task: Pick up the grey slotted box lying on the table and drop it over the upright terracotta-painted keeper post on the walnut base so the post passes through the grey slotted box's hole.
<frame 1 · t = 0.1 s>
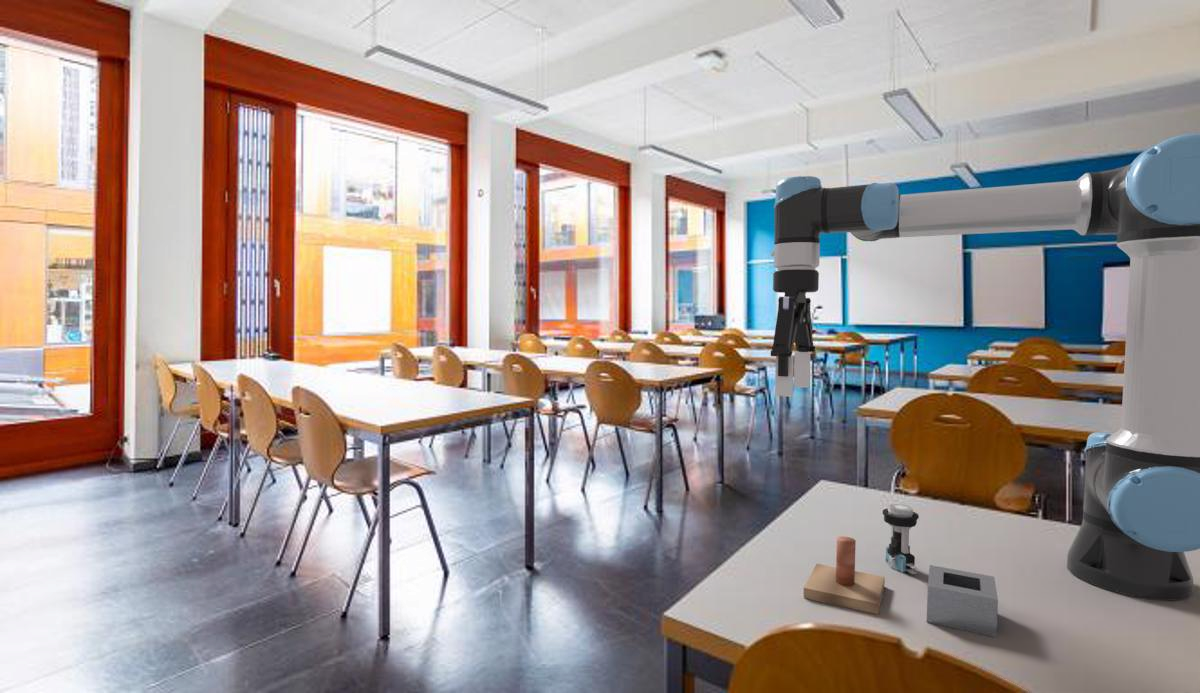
hand: (793, 391, 109), 28 cm above the table, fingers open, 13 cm apart
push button: (901, 569, 102), on the table
grey slotted box: (960, 616, 86), on the table
keeper: (844, 591, 93), on the table
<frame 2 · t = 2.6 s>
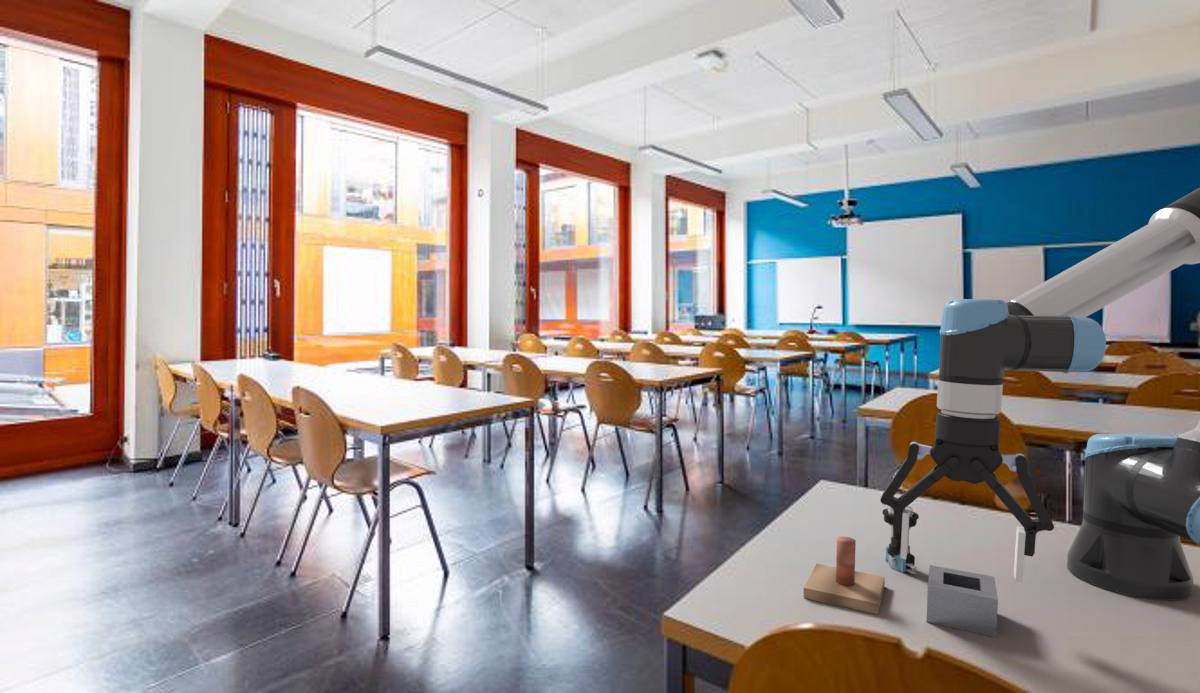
hand: (958, 566, 86), 7 cm above the table, fingers open, 13 cm apart
nothing on the table moved.
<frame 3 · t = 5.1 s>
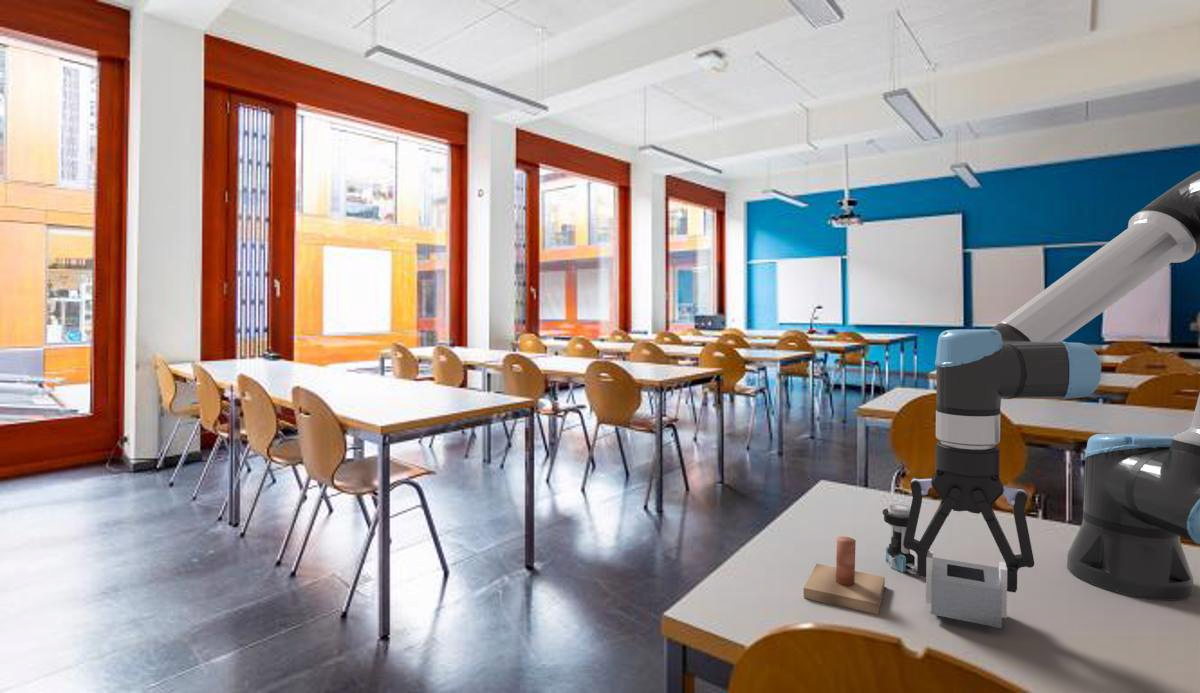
hand: (965, 605, 86), 2 cm above the table, fingers closed on grey slotted box, 8 cm apart
grey slotted box: (964, 608, 86), point 1 cm above the table, touching gripper
everything else where it was.
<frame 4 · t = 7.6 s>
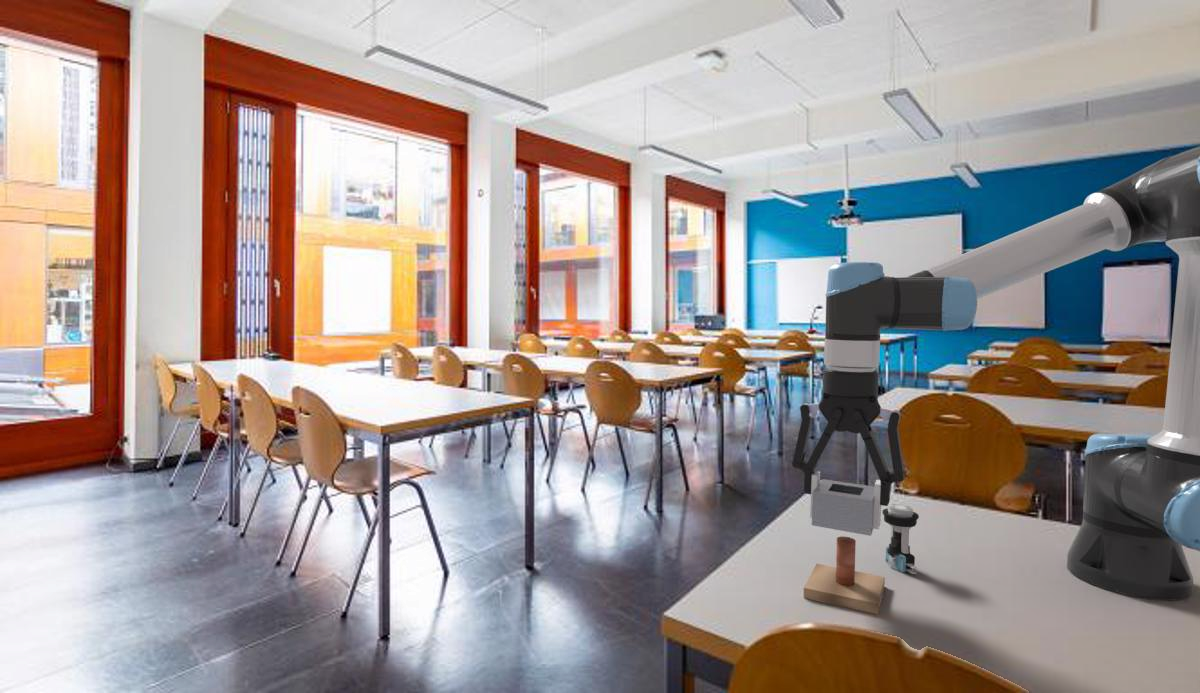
hand: (844, 520, 93), 11 cm above the table, fingers closed on grey slotted box, 8 cm apart
grey slotted box: (844, 522, 93), point 11 cm above the table, touching gripper
everything else where it was.
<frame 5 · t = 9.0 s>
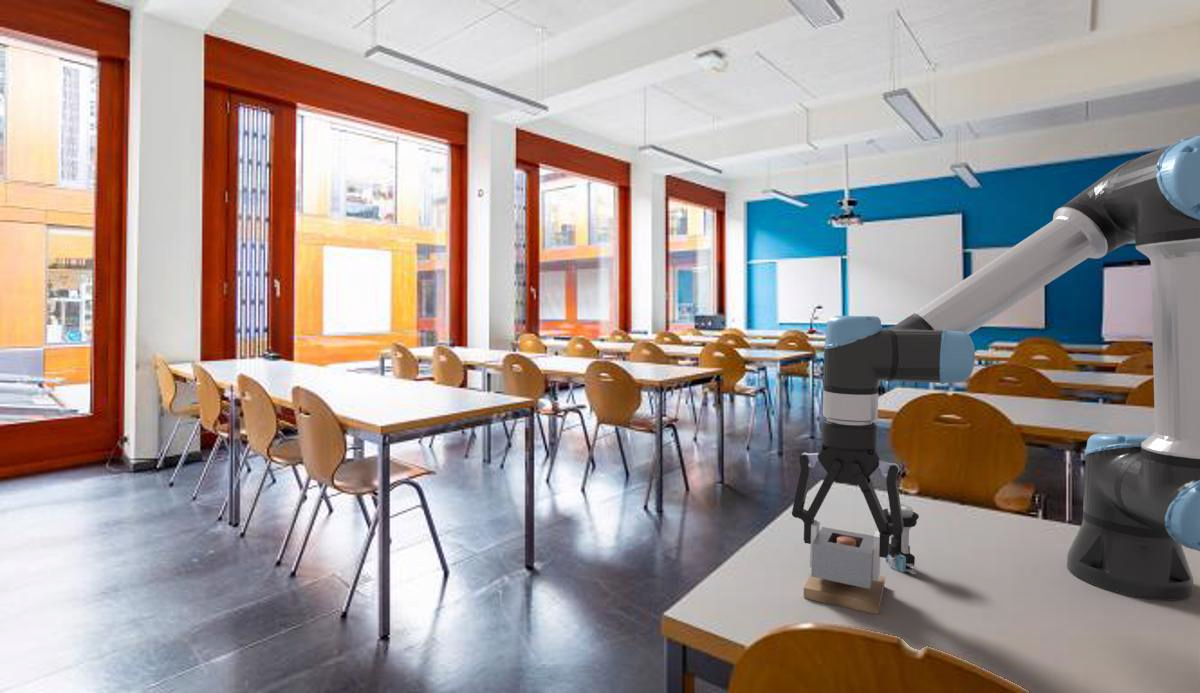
hand: (844, 570, 93), 3 cm above the table, fingers closed on grey slotted box, 8 cm apart
grey slotted box: (844, 572, 93), point 3 cm above the table, touching gripper
everything else where it was.
when the fingers open (2 cm above the table, at t = 10.0 s): grey slotted box stays where it is, resting on keeper.
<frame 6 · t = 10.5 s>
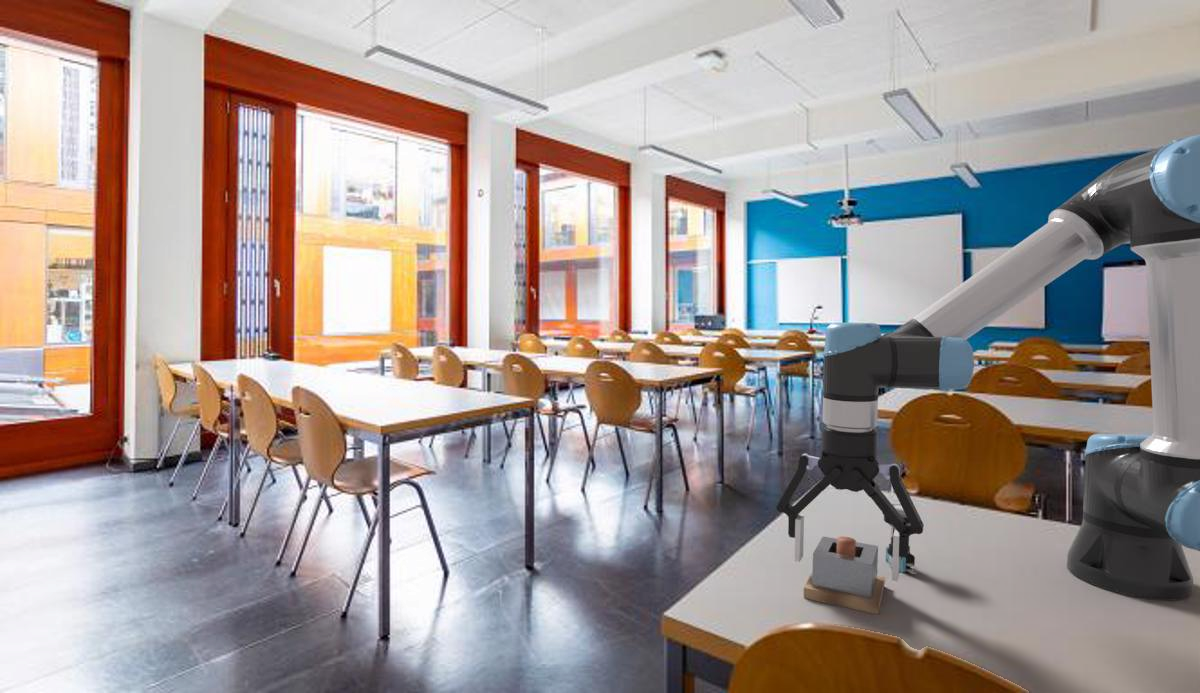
hand: (845, 567, 93), 4 cm above the table, fingers open, 13 cm apart
grey slotted box: (845, 582, 93), point 1 cm above the table, touching keeper
everything else where it was.
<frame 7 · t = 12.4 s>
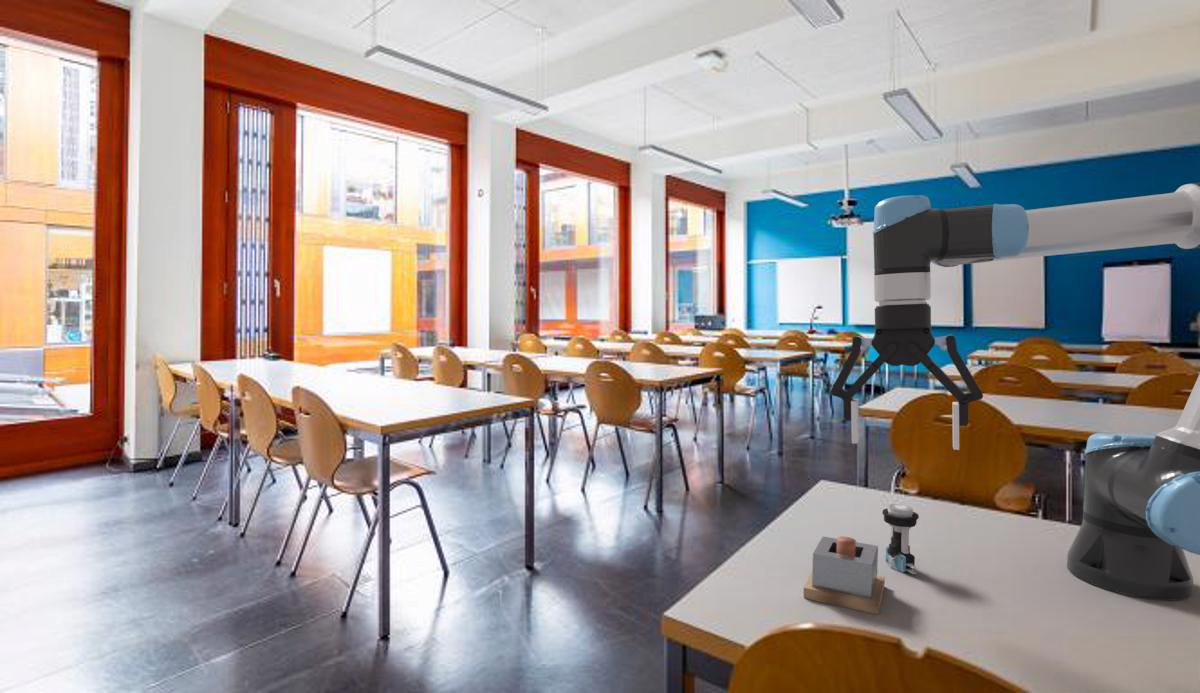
hand: (903, 445, 93), 22 cm above the table, fingers open, 13 cm apart
nothing on the table moved.
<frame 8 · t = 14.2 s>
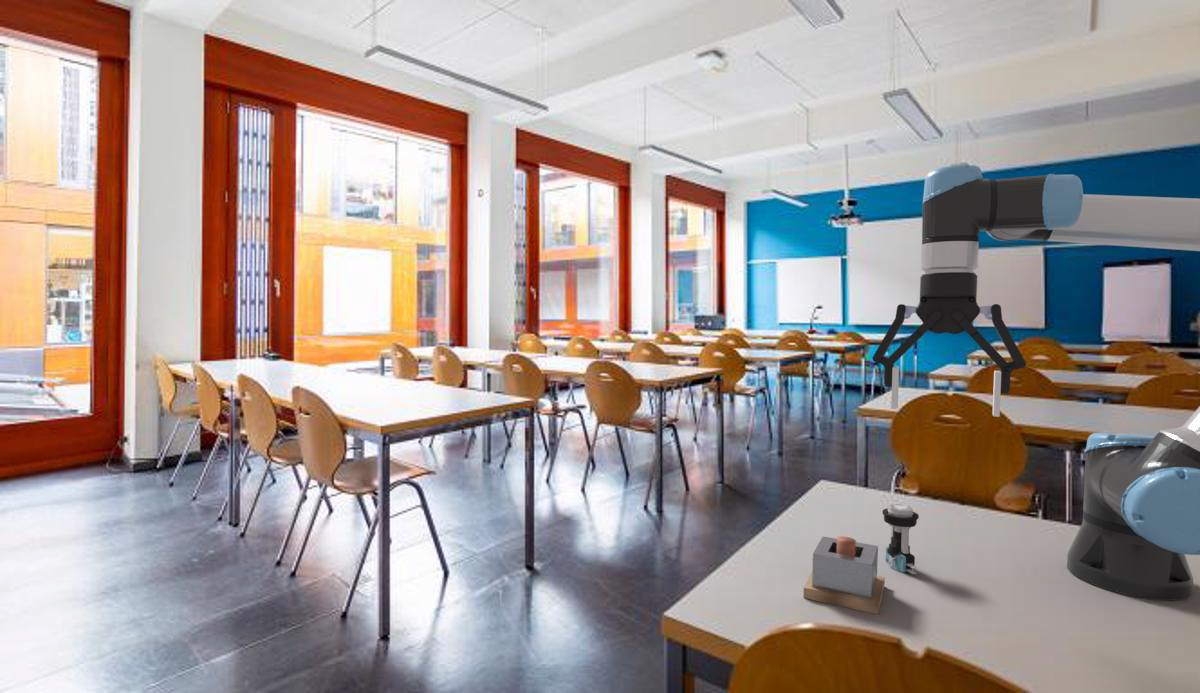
hand: (943, 411, 95), 27 cm above the table, fingers open, 13 cm apart
nothing on the table moved.
at the end: grey slotted box 0.1 cm off-centre on the keeper, point 1.5 cm above the keeper's base; the gripper is holding nothing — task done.
